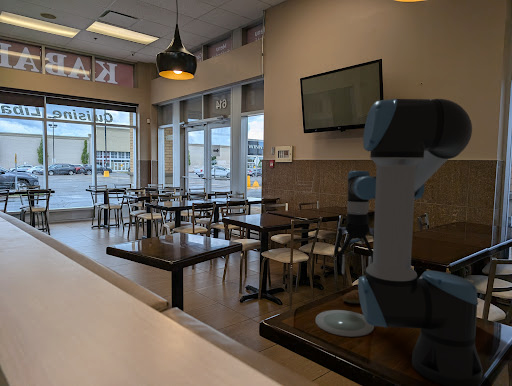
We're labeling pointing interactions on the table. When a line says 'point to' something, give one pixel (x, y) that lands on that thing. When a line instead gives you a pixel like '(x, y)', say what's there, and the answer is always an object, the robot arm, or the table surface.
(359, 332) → the serving plate
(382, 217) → the robot arm
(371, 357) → the table surface
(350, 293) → the pastry
